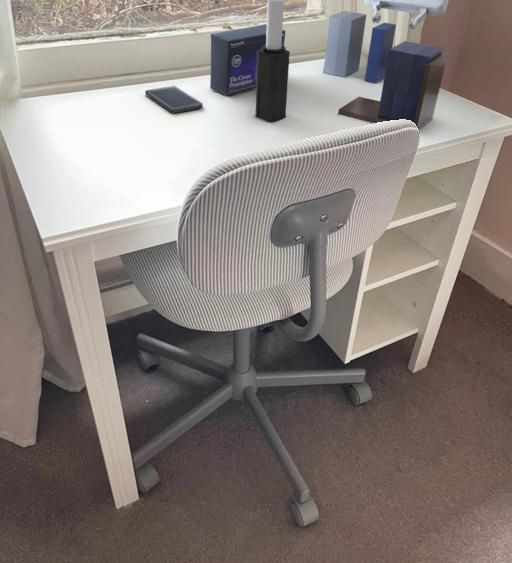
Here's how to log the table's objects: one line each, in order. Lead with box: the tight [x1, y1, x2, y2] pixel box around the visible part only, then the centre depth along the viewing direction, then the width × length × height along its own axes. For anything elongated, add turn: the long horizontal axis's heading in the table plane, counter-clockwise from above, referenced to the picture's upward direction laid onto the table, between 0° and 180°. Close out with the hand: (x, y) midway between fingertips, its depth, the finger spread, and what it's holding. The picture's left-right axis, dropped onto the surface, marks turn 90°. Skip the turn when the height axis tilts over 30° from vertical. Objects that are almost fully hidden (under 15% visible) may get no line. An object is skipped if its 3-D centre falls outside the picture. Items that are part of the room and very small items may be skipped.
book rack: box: [337, 40, 449, 131], centre depth 107 cm, size 17×10×14 cm, turn 56°
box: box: [209, 23, 286, 97], centre depth 121 cm, size 17×7×12 cm, turn 132°
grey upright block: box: [323, 10, 367, 78], centre depth 132 cm, size 6×8×13 cm
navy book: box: [364, 22, 397, 84], centre depth 128 cm, size 3×7×12 cm, turn 146°
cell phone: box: [144, 85, 204, 114], centre depth 115 cm, size 7×14×1 cm, turn 34°
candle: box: [254, 0, 291, 123], centre depth 102 cm, size 5×5×25 cm
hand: (393, 24), depth 128 cm, fingers open, 8 cm apart
